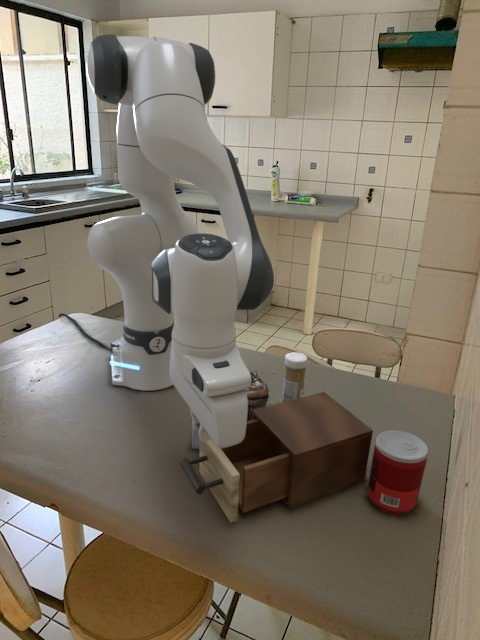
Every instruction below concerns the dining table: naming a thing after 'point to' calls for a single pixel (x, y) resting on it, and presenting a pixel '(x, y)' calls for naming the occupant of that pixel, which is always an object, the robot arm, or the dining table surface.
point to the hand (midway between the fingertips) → (202, 435)
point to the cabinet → (318, 445)
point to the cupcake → (256, 394)
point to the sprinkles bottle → (294, 376)
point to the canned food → (397, 471)
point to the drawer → (242, 471)
